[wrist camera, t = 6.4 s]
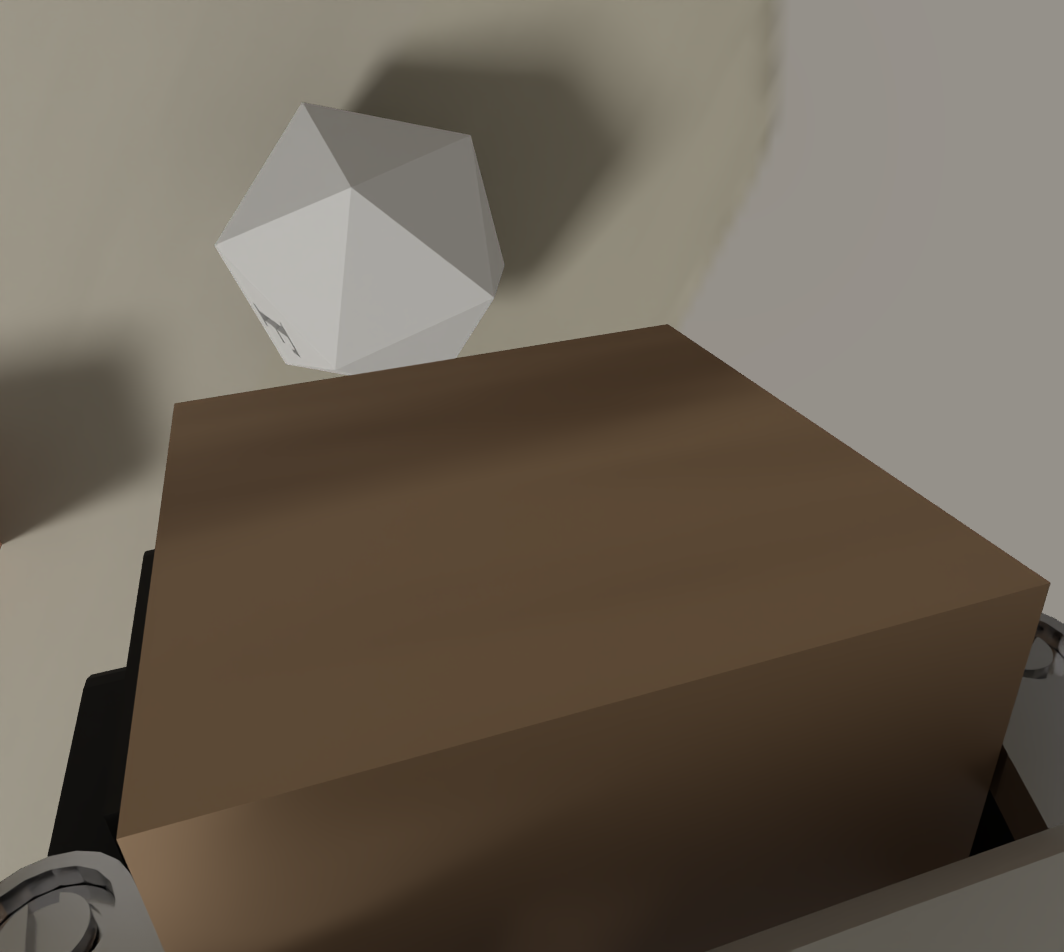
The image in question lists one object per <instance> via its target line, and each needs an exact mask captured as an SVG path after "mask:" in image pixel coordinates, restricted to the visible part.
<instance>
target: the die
mask: <svg viewBox="0 0 1064 952" xmlns="http://www.w3.org/2000/svg"><path fill="white" fill-rule="evenodd" d="M214 246H215V247H216V249H217V251H218V252H219V254H220V256H221V257H222V259H223V261H224V262H225V264H226V266H227V267H228V269H229V270H230V272H231V274H232V275H233V277H234V279H235V280H236V282H237V284H238V285H239V287H240V289H241V290H242V292H243V294H244V295H245V297H246V299H247V300H248V302H249V304H250V305H251V307H252V309H253V310H254V312H255V314H256V315H257V317H258V319H259V320H260V322H261V324H262V325H263V327H264V329H265V330H266V332H267V334H268V335H269V337H270V338H271V340H272V342H273V343H274V345H275V347H276V348H277V350H278V352H279V353H280V355H281V357H282V358H283V360H284V362H285V363H286V364H289V365H294V366H300V367H305V368H311V369H316V370H322V371H327V372H333V373H338V374H344V375H355V374H361V373H367V372H374V371H380V370H386V369H392V368H399V367H405V366H411V365H417V364H423V363H430V362H436V361H442V360H448V359H455V358H456V357H457V356H458V354H459V352H460V351H461V349H462V348H463V346H464V345H465V343H466V341H467V340H468V338H469V337H470V335H471V334H472V332H473V330H474V329H475V327H476V326H477V324H478V323H479V321H480V319H481V318H482V316H483V315H484V313H485V312H486V310H487V309H488V307H489V305H490V304H491V302H492V301H493V299H494V297H495V294H496V291H497V288H498V285H499V282H500V278H501V275H502V272H503V269H504V266H505V264H504V261H503V257H502V253H501V249H500V245H499V241H498V238H497V234H496V230H495V226H494V222H493V218H492V215H491V211H490V207H489V203H488V199H487V196H486V192H485V188H484V184H483V180H482V176H481V173H480V169H479V165H478V161H477V157H476V153H475V150H474V146H473V142H472V138H471V135H468V134H463V133H458V132H453V131H447V130H442V129H437V128H432V127H427V126H422V125H417V124H412V123H407V122H402V121H396V120H391V119H386V118H381V117H376V116H371V115H366V114H361V113H356V112H350V111H345V110H340V109H335V108H330V107H325V106H320V105H315V104H310V103H304V102H302V103H301V105H300V106H299V108H298V110H297V111H296V113H295V114H294V116H293V118H292V119H291V121H290V123H289V124H288V126H287V128H286V129H285V131H284V132H283V134H282V136H281V137H280V139H279V141H278V142H277V144H276V146H275V147H274V149H273V150H272V152H271V154H270V155H269V157H268V159H267V160H266V162H265V163H264V165H263V167H262V168H261V170H260V172H259V173H258V175H257V177H256V178H255V180H254V181H253V183H252V185H251V186H250V188H249V190H248V191H247V193H246V194H245V196H244V198H243V199H242V201H241V203H240V204H239V206H238V208H237V209H236V211H235V212H234V214H233V216H232V217H231V219H230V221H229V222H228V224H227V225H226V227H225V229H224V230H223V232H222V234H221V235H220V237H219V239H218V240H217V242H216V243H215V245H214Z"/></svg>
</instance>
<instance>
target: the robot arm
mask: <svg viewBox="0 0 1064 952" xmlns="http://www.w3.org/2000/svg"><path fill="white" fill-rule="evenodd" d="M154 553H155V549H154V550H149V551H146V552H145V553H144V556H143V563H142V569H141V576H140V582H139V589H138V595H137V602H136V608H135V615H134V621H133V627H132V634H131V640H130V647H129V653H128V660H127V666H126V667H123V668H119V669H115V670H110V671H106V672H101V673H97V674H93V675H91V676H90V677H88V678H87V680H86V683H85V686H84V689H83V693H82V698H81V703H80V707H79V712H78V717H77V721H76V726H75V731H74V735H73V740H72V745H71V749H70V754H69V759H68V763H67V768H66V773H65V777H64V782H63V787H62V791H61V796H60V801H59V805H58V810H57V815H56V819H55V824H54V829H53V833H52V838H51V843H50V847H49V852H48V857H47V858H44V859H42V860H40V861H37V862H35V863H33V864H30V865H28V866H26V867H23V868H21V869H19V870H18V871H16V872H15V873H13V874H12V875H10V876H9V877H7V878H5V879H4V880H2V881H1V882H0V952H165V951H164V949H163V947H162V944H161V942H160V940H159V937H158V935H157V933H156V930H155V928H154V926H153V923H152V921H151V919H150V916H149V914H148V912H147V910H146V907H145V905H144V903H143V900H142V898H141V896H140V893H139V891H138V889H137V886H136V884H135V882H134V879H133V877H132V875H131V872H130V870H129V868H128V865H127V863H126V861H125V858H124V856H123V854H122V851H121V849H120V847H119V844H118V842H117V840H116V837H117V830H118V822H119V815H120V807H121V800H122V792H123V785H124V777H125V770H126V762H127V755H128V748H129V740H130V733H131V725H132V718H133V710H134V703H135V695H136V688H137V680H138V673H139V665H140V658H141V650H142V643H143V635H144V628H145V620H146V613H147V605H148V598H149V590H150V583H151V576H152V568H153V561H154ZM706 952H1064V624H1063V623H1061V622H1059V621H1058V620H1057V619H1055V618H1053V617H1050V616H1048V615H1046V614H1043V613H1041V616H1040V620H1039V623H1038V626H1037V630H1036V633H1035V637H1034V640H1033V643H1032V647H1031V650H1030V653H1029V657H1028V660H1027V663H1026V667H1025V670H1024V673H1023V677H1022V680H1021V684H1020V687H1019V690H1018V694H1017V697H1016V700H1015V704H1014V707H1013V710H1012V714H1011V717H1010V720H1009V724H1008V727H1007V730H1006V734H1005V737H1004V741H1003V744H1002V747H1001V751H1000V754H999V757H998V761H997V764H996V767H995V771H994V774H993V777H992V781H991V784H990V787H989V791H988V794H987V798H986V801H985V804H984V808H983V811H982V814H981V818H980V821H979V824H978V828H977V831H976V834H975V838H974V841H973V845H972V848H971V851H970V855H969V857H968V858H965V859H963V860H960V861H957V862H954V863H951V864H948V865H946V866H943V867H940V868H937V869H934V870H932V871H929V872H926V873H923V874H920V875H917V876H915V877H912V878H909V879H906V880H903V881H900V882H898V883H895V884H892V885H889V886H886V887H884V888H881V889H878V890H875V891H873V892H870V893H867V894H864V895H861V896H859V897H856V898H853V899H850V900H848V901H845V902H842V903H839V904H836V905H834V906H831V907H828V908H825V909H823V910H820V911H817V912H814V913H811V914H809V915H806V916H803V917H800V918H798V919H795V920H792V921H789V922H786V923H784V924H781V925H778V926H775V927H773V928H770V929H767V930H764V931H761V932H759V933H756V934H753V935H750V936H748V937H745V938H742V939H739V940H737V941H734V942H731V943H728V944H725V945H723V946H720V947H717V948H714V949H712V950H709V951H706Z"/></svg>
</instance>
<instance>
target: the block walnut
mask: <svg viewBox="0 0 1064 952" xmlns="http://www.w3.org/2000/svg"><path fill="white" fill-rule="evenodd" d="M1049 586H1050V582H1049V581H1047V580H1046V579H1044V578H1043V577H1041V576H1040V575H1038V574H1037V573H1035V572H1034V571H1032V570H1031V569H1029V568H1028V567H1027V566H1025V565H1023V564H1022V563H1020V562H1019V561H1018V560H1016V559H1015V558H1013V557H1012V556H1010V555H1009V554H1007V553H1005V552H1004V551H1003V550H1001V549H1000V548H998V547H997V546H995V545H994V544H992V543H991V542H990V541H988V540H986V539H985V538H983V537H982V536H981V535H979V534H978V533H976V532H975V531H973V530H972V529H970V528H969V527H967V526H966V525H964V524H963V523H961V522H960V521H958V520H957V519H955V518H954V517H952V516H951V515H950V514H948V513H946V512H945V511H943V510H942V509H941V508H939V507H938V506H936V505H935V504H933V503H932V502H930V501H929V500H927V499H926V498H924V497H923V496H921V495H920V494H918V493H917V492H915V491H914V490H913V489H911V488H910V487H908V486H907V485H905V484H904V483H902V482H901V481H899V480H897V479H896V478H895V477H893V476H892V475H890V474H889V473H887V472H886V471H884V470H883V469H881V468H880V467H878V466H877V465H875V464H874V463H873V462H871V461H870V460H868V459H867V458H865V457H864V456H862V455H861V454H859V453H858V452H856V451H855V450H853V449H852V448H850V447H849V446H847V445H846V444H844V443H843V442H841V441H840V440H838V439H837V438H835V437H834V436H833V435H831V434H830V433H828V432H826V431H825V430H824V429H822V428H821V427H819V426H818V425H816V424H815V423H813V422H811V421H810V420H809V419H807V418H806V417H804V416H803V415H801V414H800V413H798V412H796V410H794V409H792V408H791V407H789V406H788V405H786V404H785V403H784V402H782V401H780V400H779V399H778V398H776V397H775V396H773V395H772V394H770V393H769V392H767V391H766V390H764V389H763V388H761V387H760V386H758V385H757V384H756V383H754V382H753V381H751V380H750V379H748V378H746V377H745V376H744V375H742V374H741V373H739V372H738V371H736V370H735V369H733V368H732V367H730V366H729V365H727V364H726V363H724V362H723V361H722V360H720V359H719V358H717V357H715V356H714V355H713V354H711V353H710V352H708V351H707V350H705V349H704V348H702V347H701V346H699V345H698V344H696V343H695V342H693V341H692V340H690V339H689V338H687V337H686V336H685V335H683V334H682V333H680V332H679V331H677V330H676V329H674V328H673V327H671V326H670V325H668V324H666V325H660V326H654V327H647V328H641V329H635V330H629V331H622V332H616V333H610V334H604V335H598V336H591V337H585V338H579V339H573V340H566V341H560V342H554V343H548V344H542V345H535V346H529V347H523V348H517V349H510V350H504V351H498V352H492V353H486V354H479V355H473V356H467V357H461V358H455V359H448V360H442V361H436V362H430V363H423V364H417V365H411V366H405V367H399V368H392V369H386V370H380V371H374V372H367V373H361V374H355V375H349V376H343V377H336V378H330V379H324V380H318V381H311V382H305V383H299V384H293V385H287V386H280V387H274V388H268V389H262V390H255V391H249V392H243V393H237V394H231V395H224V396H218V397H212V398H206V399H199V400H193V401H187V402H181V403H175V404H174V411H173V419H172V426H171V433H170V441H169V448H168V456H167V463H166V471H165V478H164V486H163V493H162V501H161V508H160V516H159V523H158V531H157V538H156V546H155V553H154V561H153V568H152V576H151V583H150V590H149V598H148V605H147V613H146V620H145V628H144V635H143V643H142V650H141V658H140V665H139V673H138V680H137V688H136V695H135V703H134V710H133V718H132V725H131V733H130V740H129V748H128V755H127V762H126V770H125V777H124V785H123V792H122V800H121V807H120V815H119V822H118V830H117V837H116V840H117V842H118V844H119V847H120V849H121V851H122V854H123V856H124V858H125V861H126V863H127V865H128V868H129V870H130V872H131V875H132V877H133V879H134V882H135V884H136V886H137V889H138V891H139V893H140V896H141V898H142V900H143V903H144V905H145V907H146V910H147V912H148V914H149V916H150V919H151V921H152V923H153V926H154V928H155V930H156V933H157V935H158V937H159V940H160V942H161V944H162V947H163V949H164V951H165V952H706V951H709V950H712V949H714V948H717V947H720V946H723V945H725V944H728V943H731V942H734V941H737V940H739V939H742V938H745V937H748V936H750V935H753V934H756V933H759V932H761V931H764V930H767V929H770V928H773V927H775V926H778V925H781V924H784V923H786V922H789V921H792V920H795V919H798V918H800V917H803V916H806V915H809V914H811V913H814V912H817V911H820V910H823V909H825V908H828V907H831V906H834V905H836V904H839V903H842V902H845V901H848V900H850V899H853V898H856V897H859V896H861V895H864V894H867V893H870V892H873V891H875V890H878V889H881V888H884V887H886V886H889V885H892V884H895V883H898V882H900V881H903V880H906V879H909V878H912V877H915V876H917V875H920V874H923V873H926V872H929V871H932V870H934V869H937V868H940V867H943V866H946V865H948V864H951V863H954V862H957V861H960V860H963V859H965V858H968V857H969V855H970V851H971V848H972V845H973V841H974V838H975V834H976V831H977V828H978V824H979V821H980V818H981V814H982V811H983V808H984V804H985V801H986V798H987V794H988V791H989V787H990V784H991V781H992V777H993V774H994V771H995V767H996V764H997V761H998V757H999V754H1000V751H1001V747H1002V744H1003V741H1004V737H1005V734H1006V730H1007V727H1008V724H1009V720H1010V717H1011V714H1012V710H1013V707H1014V704H1015V700H1016V697H1017V694H1018V690H1019V687H1020V684H1021V680H1022V677H1023V673H1024V670H1025V667H1026V663H1027V660H1028V657H1029V653H1030V650H1031V647H1032V643H1033V640H1034V637H1035V633H1036V630H1037V626H1038V623H1039V620H1040V616H1041V613H1042V610H1043V606H1044V603H1045V600H1046V596H1047V593H1048V589H1049Z"/></svg>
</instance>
